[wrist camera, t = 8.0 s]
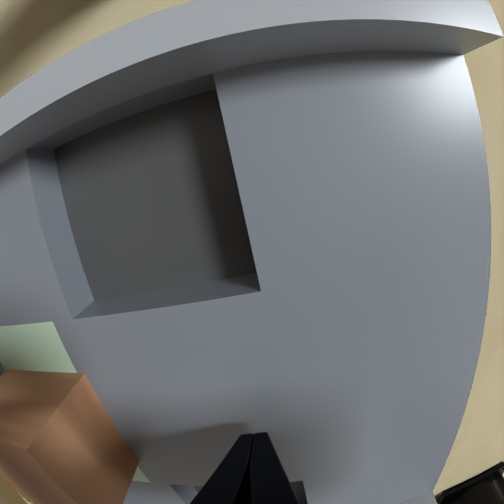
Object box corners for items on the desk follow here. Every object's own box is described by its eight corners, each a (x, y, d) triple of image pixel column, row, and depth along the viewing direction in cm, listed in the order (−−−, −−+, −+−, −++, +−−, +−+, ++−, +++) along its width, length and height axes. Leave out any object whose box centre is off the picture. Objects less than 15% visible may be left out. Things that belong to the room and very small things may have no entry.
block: (84, 373, 9) (26, 449, 5) (139, 460, 10) (112, 532, 6) (7, 368, 10) (-43, 419, 6) (59, 447, 11) (27, 500, 7)
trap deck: (423, 44, 7) (510, -12, 3) (420, 475, 13) (441, 534, 8) (-36, 184, 9) (-113, 202, 5) (123, 498, 15) (103, 549, 10)
